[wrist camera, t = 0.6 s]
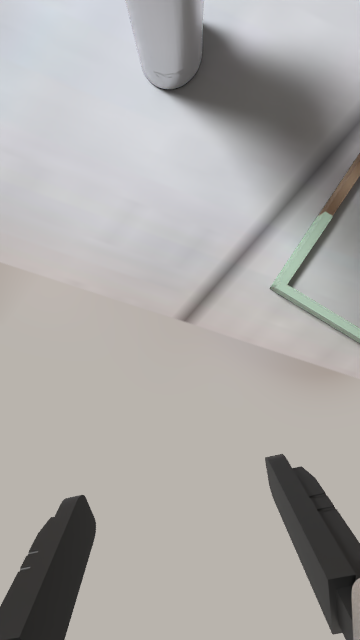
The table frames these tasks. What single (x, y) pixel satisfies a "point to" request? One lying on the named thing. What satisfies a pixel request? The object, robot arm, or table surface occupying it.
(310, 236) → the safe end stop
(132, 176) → the table surface
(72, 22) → the table surface
